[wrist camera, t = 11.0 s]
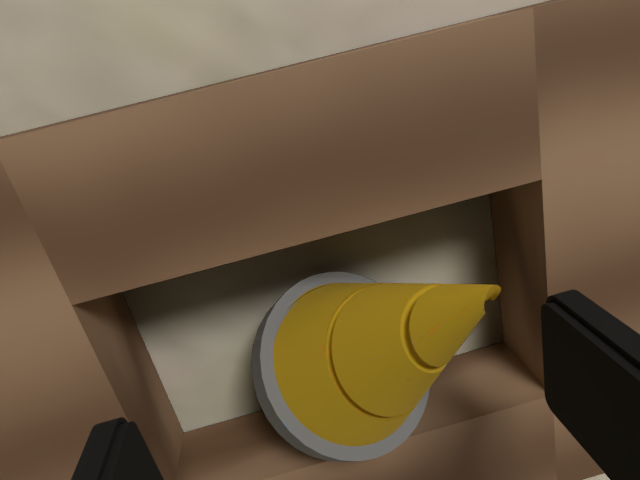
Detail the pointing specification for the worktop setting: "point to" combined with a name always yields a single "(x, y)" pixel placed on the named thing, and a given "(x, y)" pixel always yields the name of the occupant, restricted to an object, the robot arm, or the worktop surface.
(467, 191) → the walnut socket block
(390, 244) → the worktop surface
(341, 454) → the yellow stepped cone
